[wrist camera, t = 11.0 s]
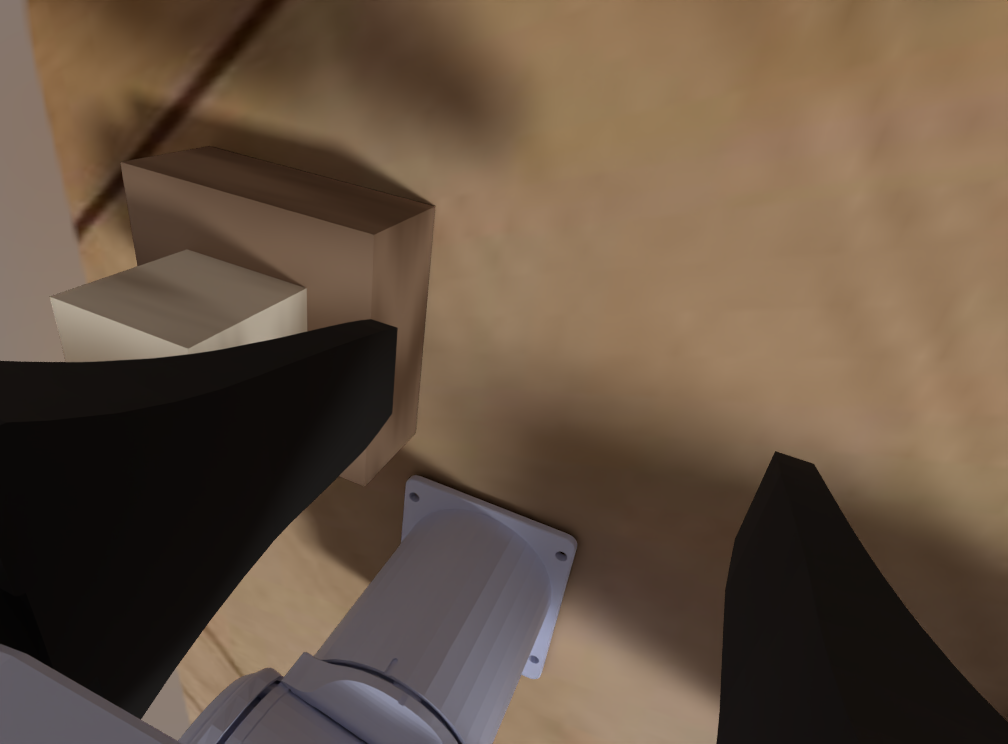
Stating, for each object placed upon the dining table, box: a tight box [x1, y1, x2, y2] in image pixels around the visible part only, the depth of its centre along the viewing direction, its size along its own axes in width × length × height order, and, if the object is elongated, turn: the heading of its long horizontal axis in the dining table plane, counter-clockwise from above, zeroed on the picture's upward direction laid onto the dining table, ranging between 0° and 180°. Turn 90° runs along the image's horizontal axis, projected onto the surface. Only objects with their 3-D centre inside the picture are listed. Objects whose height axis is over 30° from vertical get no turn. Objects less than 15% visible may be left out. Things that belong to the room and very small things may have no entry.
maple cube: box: [50, 249, 307, 362], centre depth 21 cm, size 5×5×5 cm
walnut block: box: [120, 146, 435, 487], centre depth 24 cm, size 10×10×4 cm
